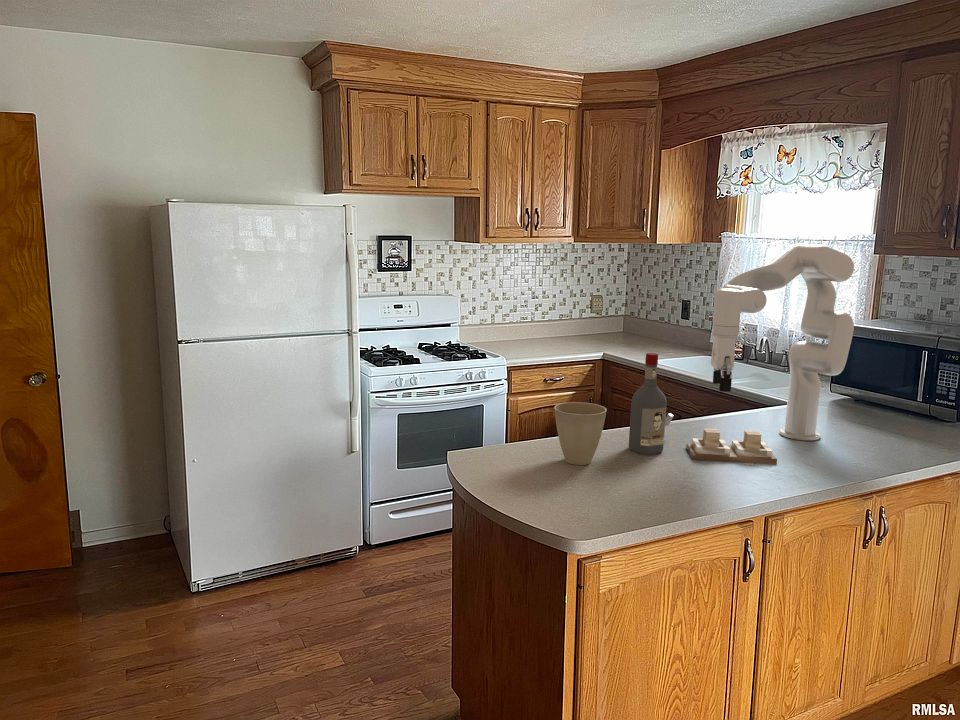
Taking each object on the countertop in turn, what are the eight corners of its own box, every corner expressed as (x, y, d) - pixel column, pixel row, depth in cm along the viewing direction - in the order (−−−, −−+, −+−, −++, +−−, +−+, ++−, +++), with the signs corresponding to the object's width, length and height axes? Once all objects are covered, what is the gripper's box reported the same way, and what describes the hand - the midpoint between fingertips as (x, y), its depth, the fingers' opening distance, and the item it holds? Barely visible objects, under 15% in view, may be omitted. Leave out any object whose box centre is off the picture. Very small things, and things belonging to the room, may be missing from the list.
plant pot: (612, 459, 222) (615, 407, 219) (589, 473, 210) (592, 417, 207) (567, 449, 230) (569, 399, 227) (542, 462, 218) (544, 409, 215)
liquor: (624, 447, 233) (630, 352, 228) (647, 444, 238) (654, 350, 232) (643, 456, 225) (650, 357, 220) (667, 452, 230) (674, 355, 224)
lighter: (651, 433, 249) (652, 410, 248) (654, 432, 251) (655, 409, 249) (669, 438, 244) (671, 414, 243) (672, 437, 245) (674, 413, 244)
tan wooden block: (702, 447, 230) (703, 428, 229) (715, 448, 230) (717, 429, 229) (704, 451, 227) (706, 432, 225) (718, 452, 226) (720, 432, 225)
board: (686, 447, 235) (688, 424, 234) (765, 451, 233) (768, 428, 231) (693, 459, 223) (694, 435, 222) (776, 464, 221) (779, 439, 220)
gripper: (707, 326, 231) (703, 380, 235) (718, 335, 214) (714, 394, 218) (732, 326, 230) (728, 381, 234) (745, 336, 213) (741, 394, 217)
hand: (721, 387), depth 226 cm, fingers open, 9 cm apart
